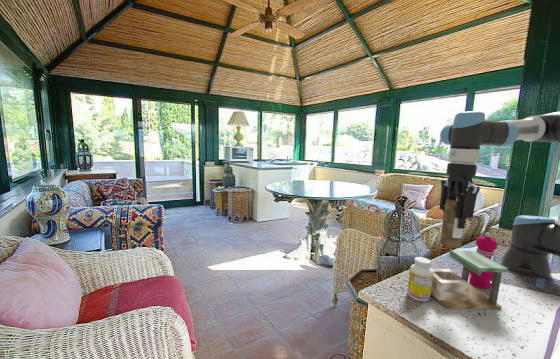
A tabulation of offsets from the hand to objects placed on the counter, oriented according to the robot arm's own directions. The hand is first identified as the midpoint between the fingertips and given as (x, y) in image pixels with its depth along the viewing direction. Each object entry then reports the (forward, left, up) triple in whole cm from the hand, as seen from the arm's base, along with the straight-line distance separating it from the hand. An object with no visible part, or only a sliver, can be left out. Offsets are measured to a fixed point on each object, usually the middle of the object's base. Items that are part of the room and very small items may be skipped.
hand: (451, 234), depth 82 cm
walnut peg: (0, 0, -4) cm, 4 cm away
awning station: (-5, 0, -21) cm, 22 cm away
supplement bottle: (+9, +1, -21) cm, 23 cm away
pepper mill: (-19, -7, -21) cm, 30 cm away
